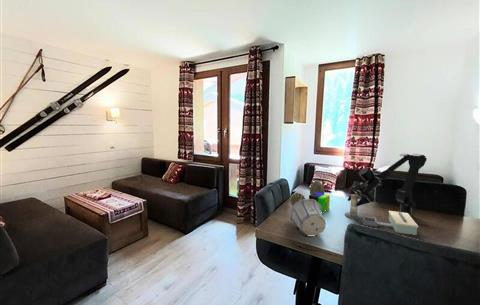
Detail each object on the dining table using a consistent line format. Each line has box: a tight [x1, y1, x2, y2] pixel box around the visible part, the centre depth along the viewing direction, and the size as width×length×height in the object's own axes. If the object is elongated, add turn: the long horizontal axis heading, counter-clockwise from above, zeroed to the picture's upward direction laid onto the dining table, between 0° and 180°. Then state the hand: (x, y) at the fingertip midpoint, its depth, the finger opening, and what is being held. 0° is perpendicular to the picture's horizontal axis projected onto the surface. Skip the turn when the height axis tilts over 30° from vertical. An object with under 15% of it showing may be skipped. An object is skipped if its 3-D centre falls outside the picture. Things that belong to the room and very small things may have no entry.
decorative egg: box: [309, 180, 325, 195], centre depth 171 cm, size 11×11×15 cm
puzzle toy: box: [308, 192, 331, 213], centre depth 152 cm, size 10×10×10 cm
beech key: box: [349, 194, 360, 216], centre depth 140 cm, size 5×5×13 cm
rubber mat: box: [344, 211, 363, 220], centre depth 141 cm, size 10×10×1 cm
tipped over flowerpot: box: [289, 192, 327, 236], centre depth 127 cm, size 18×18×30 cm
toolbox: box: [361, 210, 419, 236], centre depth 128 cm, size 19×24×6 cm
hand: (352, 203), depth 140 cm, fingers open, 9 cm apart
